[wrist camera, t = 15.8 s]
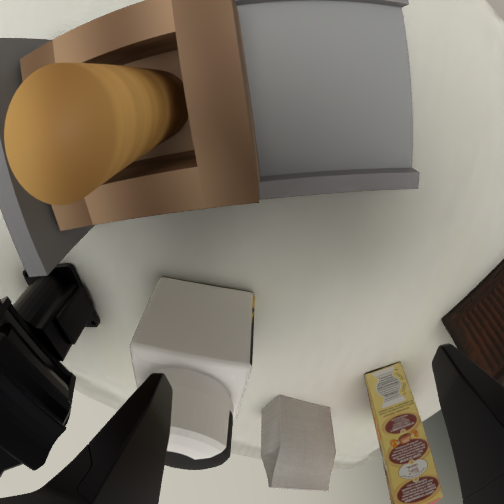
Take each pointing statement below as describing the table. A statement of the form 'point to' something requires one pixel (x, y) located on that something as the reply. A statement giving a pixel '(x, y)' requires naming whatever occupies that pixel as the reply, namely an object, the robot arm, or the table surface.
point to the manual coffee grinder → (481, 324)
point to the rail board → (277, 110)
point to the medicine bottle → (197, 364)
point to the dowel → (87, 125)
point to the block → (197, 99)
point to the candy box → (402, 439)
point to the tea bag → (297, 444)
